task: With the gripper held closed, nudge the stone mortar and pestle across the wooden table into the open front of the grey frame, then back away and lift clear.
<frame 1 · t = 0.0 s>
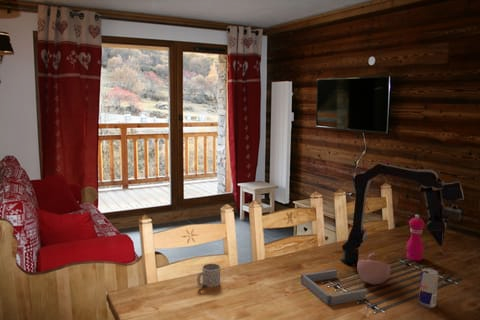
hand: (442, 242, 158), 15 cm above the table, tool pointing down, fingers open, 9 cm apart
grey frame: (333, 289, 151), on the table
mug: (207, 285, 154), on the table
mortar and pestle: (372, 283, 157), on the table
energy drink: (427, 304, 141), on the table
pepper mill: (414, 258, 183), on the table
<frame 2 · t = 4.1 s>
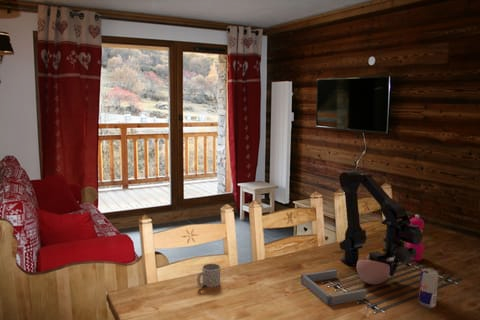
hand: (391, 276, 160), 2 cm above the table, tool pointing down, fingers closed
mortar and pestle: (372, 283, 157), on the table, touching gripper
everything else where it was.
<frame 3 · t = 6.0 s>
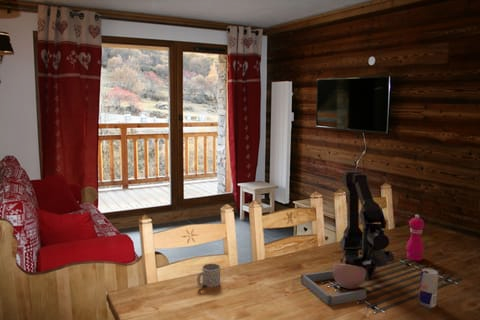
hand: (368, 279, 156), 2 cm above the table, tool pointing down, fingers closed
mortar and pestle: (348, 287, 153), on the table, touching gripper
everything else where it was.
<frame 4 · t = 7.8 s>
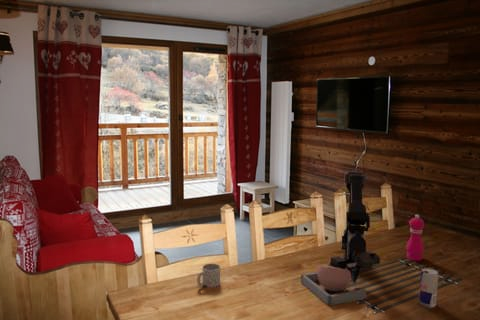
hand: (354, 282, 154), 2 cm above the table, tool pointing down, fingers closed
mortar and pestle: (333, 290, 151), on the table, touching gripper
everything else where it was.
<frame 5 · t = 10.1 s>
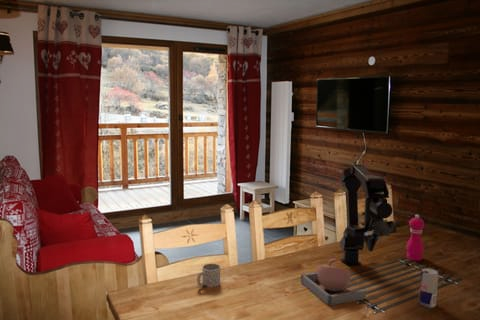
hand: (370, 251, 155), 13 cm above the table, tool pointing down, fingers closed
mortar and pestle: (333, 290, 151), on the table
everything else where it was.
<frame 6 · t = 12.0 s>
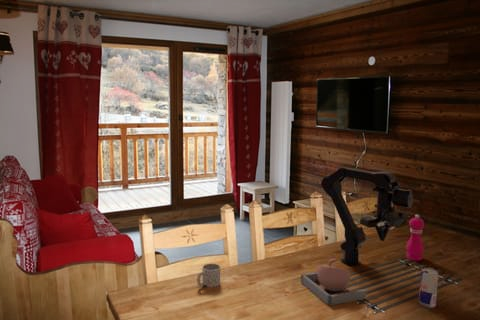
hand: (382, 240, 166), 13 cm above the table, tool pointing down, fingers closed
nothing on the table moved.
at the end: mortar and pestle 0.1 cm off-centre on the grey frame, point 0.0 cm above the grey frame's base; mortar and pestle tilted 0°; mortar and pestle moved 17.5 cm from its start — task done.
